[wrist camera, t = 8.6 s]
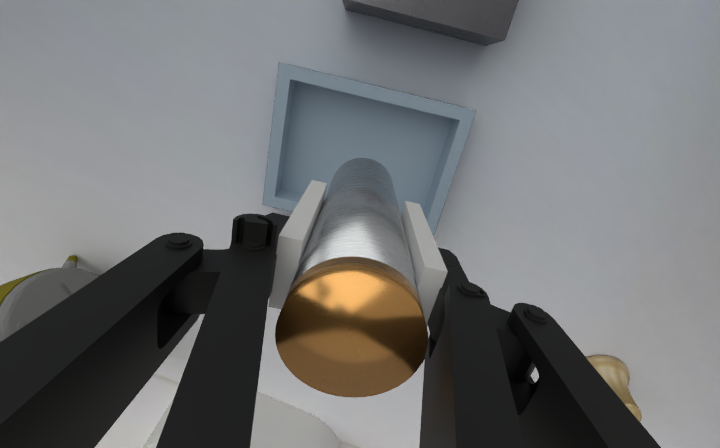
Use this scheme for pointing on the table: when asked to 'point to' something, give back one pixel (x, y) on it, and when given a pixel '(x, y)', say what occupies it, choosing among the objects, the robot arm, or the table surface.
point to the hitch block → (445, 16)
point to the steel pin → (354, 292)
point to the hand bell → (616, 379)
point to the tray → (361, 138)
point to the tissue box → (276, 427)
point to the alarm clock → (38, 294)
